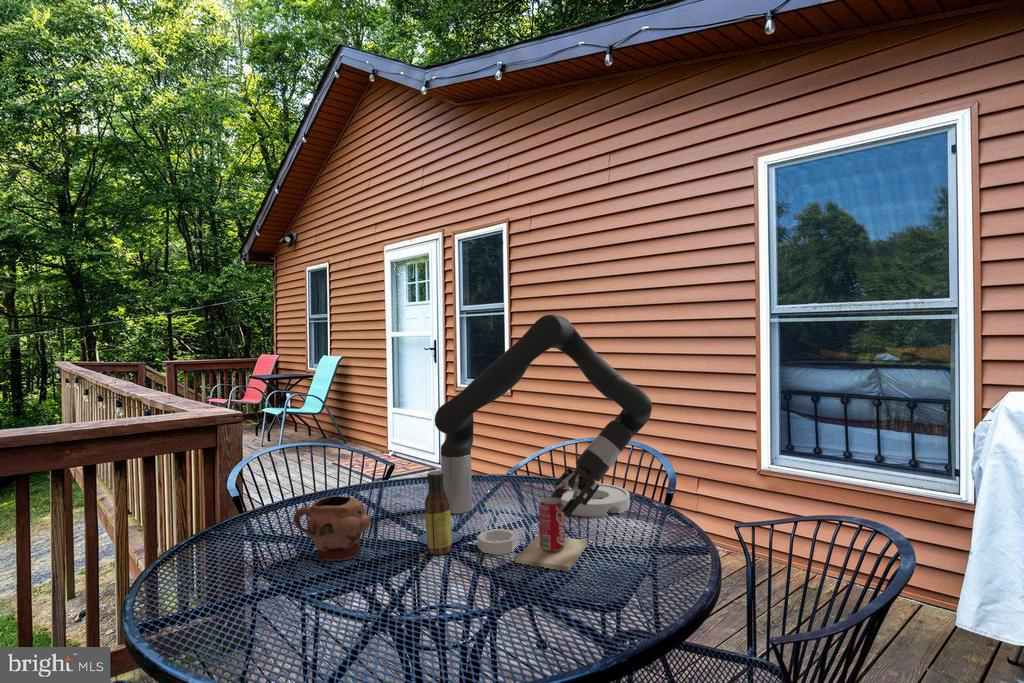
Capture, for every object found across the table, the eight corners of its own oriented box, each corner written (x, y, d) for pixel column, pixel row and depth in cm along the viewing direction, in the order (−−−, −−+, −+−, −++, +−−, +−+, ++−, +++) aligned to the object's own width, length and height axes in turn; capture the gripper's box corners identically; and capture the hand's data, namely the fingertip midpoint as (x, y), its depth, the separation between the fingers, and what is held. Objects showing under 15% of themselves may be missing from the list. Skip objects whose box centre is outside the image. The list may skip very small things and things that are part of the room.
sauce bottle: (456, 547, 147) (454, 470, 146) (445, 557, 141) (443, 476, 140) (433, 545, 149) (431, 468, 148) (421, 554, 143) (419, 474, 142)
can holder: (472, 552, 144) (472, 540, 144) (488, 538, 152) (488, 527, 152) (507, 557, 140) (507, 544, 140) (521, 543, 149) (521, 531, 149)
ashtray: (623, 521, 165) (622, 507, 165) (545, 513, 173) (545, 500, 173) (635, 498, 187) (635, 486, 187) (565, 492, 195) (565, 480, 195)
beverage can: (565, 543, 145) (564, 496, 144) (564, 553, 138) (564, 504, 138) (540, 543, 145) (539, 496, 145) (538, 553, 139) (538, 503, 139)
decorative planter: (282, 565, 138) (280, 507, 137) (302, 546, 150) (301, 493, 150) (365, 565, 137) (363, 507, 137) (379, 545, 149) (377, 492, 149)
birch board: (515, 564, 136) (515, 559, 136) (539, 538, 152) (539, 534, 152) (568, 571, 131) (568, 566, 131) (587, 545, 147) (587, 540, 147)
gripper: (576, 443, 151) (536, 491, 147) (602, 454, 137) (559, 507, 134) (594, 461, 153) (555, 509, 149) (622, 473, 139) (580, 527, 136)
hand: (557, 508), depth 141 cm, fingers open, 8 cm apart
